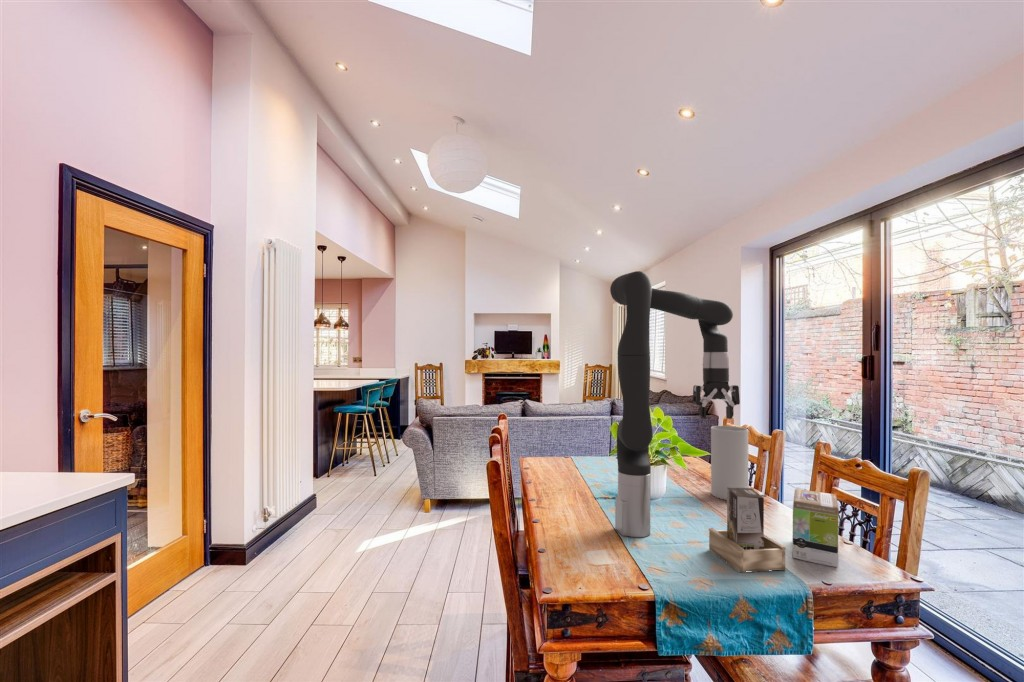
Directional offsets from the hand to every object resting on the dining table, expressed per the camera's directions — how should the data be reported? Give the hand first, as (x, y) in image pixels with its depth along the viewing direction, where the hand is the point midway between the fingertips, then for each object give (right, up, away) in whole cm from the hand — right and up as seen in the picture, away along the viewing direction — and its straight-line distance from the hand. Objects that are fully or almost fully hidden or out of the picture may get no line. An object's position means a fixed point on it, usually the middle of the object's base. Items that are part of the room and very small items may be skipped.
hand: (716, 418), depth 149 cm
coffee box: (-5, -30, -29) cm, 42 cm away
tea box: (+16, -32, -24) cm, 43 cm away
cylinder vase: (+16, -33, +26) cm, 45 cm away
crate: (-5, -31, -29) cm, 43 cm away
